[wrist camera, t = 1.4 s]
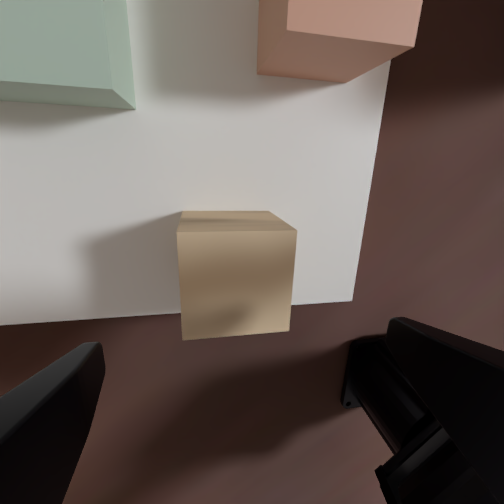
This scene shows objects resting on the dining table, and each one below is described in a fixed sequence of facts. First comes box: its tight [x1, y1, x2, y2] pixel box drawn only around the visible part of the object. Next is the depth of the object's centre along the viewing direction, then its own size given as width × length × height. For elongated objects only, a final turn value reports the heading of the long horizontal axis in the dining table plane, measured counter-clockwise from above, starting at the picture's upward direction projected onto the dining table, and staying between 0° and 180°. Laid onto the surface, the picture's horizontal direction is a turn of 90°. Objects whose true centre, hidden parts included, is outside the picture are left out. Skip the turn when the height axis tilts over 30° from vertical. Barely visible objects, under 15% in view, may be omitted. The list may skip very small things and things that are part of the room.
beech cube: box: [176, 211, 297, 340], centre depth 14 cm, size 5×5×5 cm
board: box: [0, 0, 391, 325], centre depth 14 cm, size 20×24×1 cm
